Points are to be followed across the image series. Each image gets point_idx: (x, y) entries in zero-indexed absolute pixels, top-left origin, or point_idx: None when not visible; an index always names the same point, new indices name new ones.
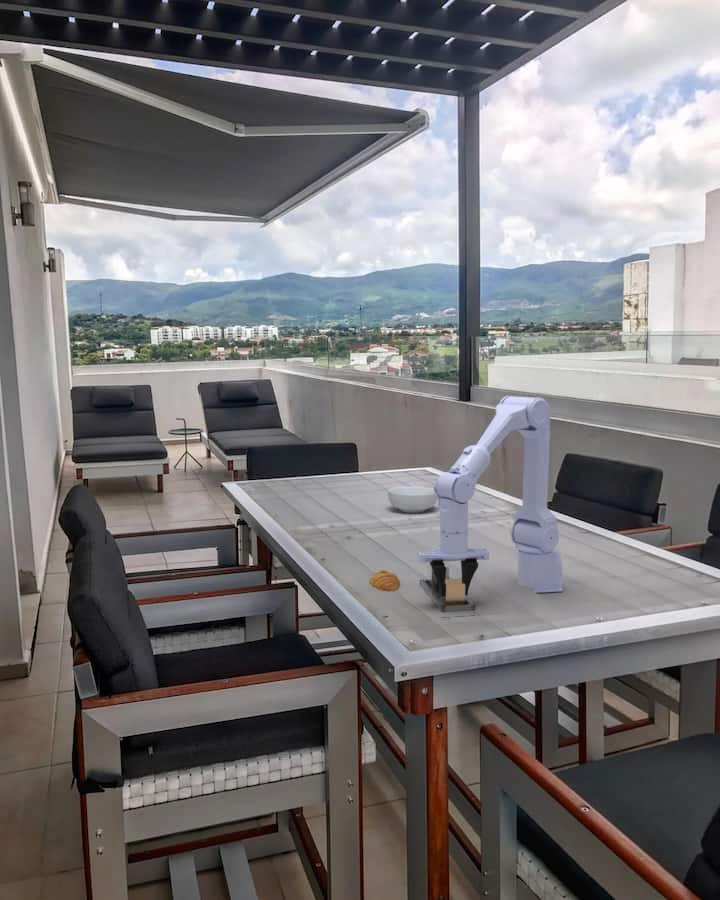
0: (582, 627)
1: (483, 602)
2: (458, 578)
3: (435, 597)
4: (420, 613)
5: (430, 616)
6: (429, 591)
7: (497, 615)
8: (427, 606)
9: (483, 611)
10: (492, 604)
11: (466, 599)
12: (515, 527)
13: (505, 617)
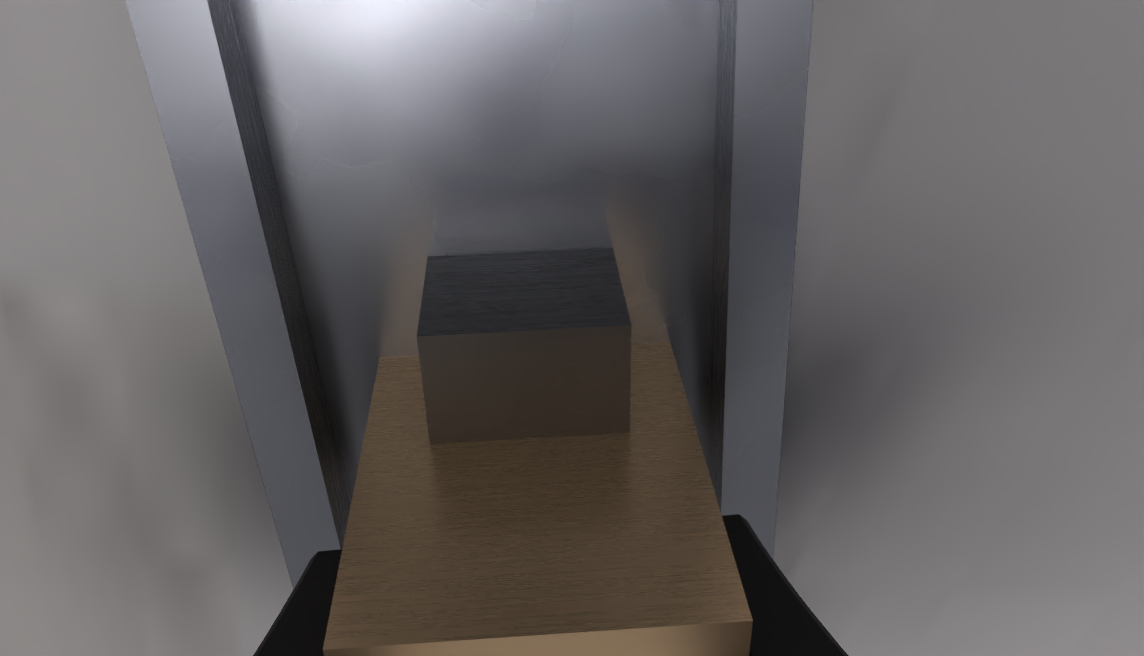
0: None
1: (1057, 139)
2: (701, 634)
3: (263, 391)
4: (88, 489)
5: (221, 579)
6: (143, 47)
7: (976, 584)
8: (173, 242)
9: (885, 471)
10: (1131, 238)
11: (730, 503)
12: None
13: (1024, 633)
